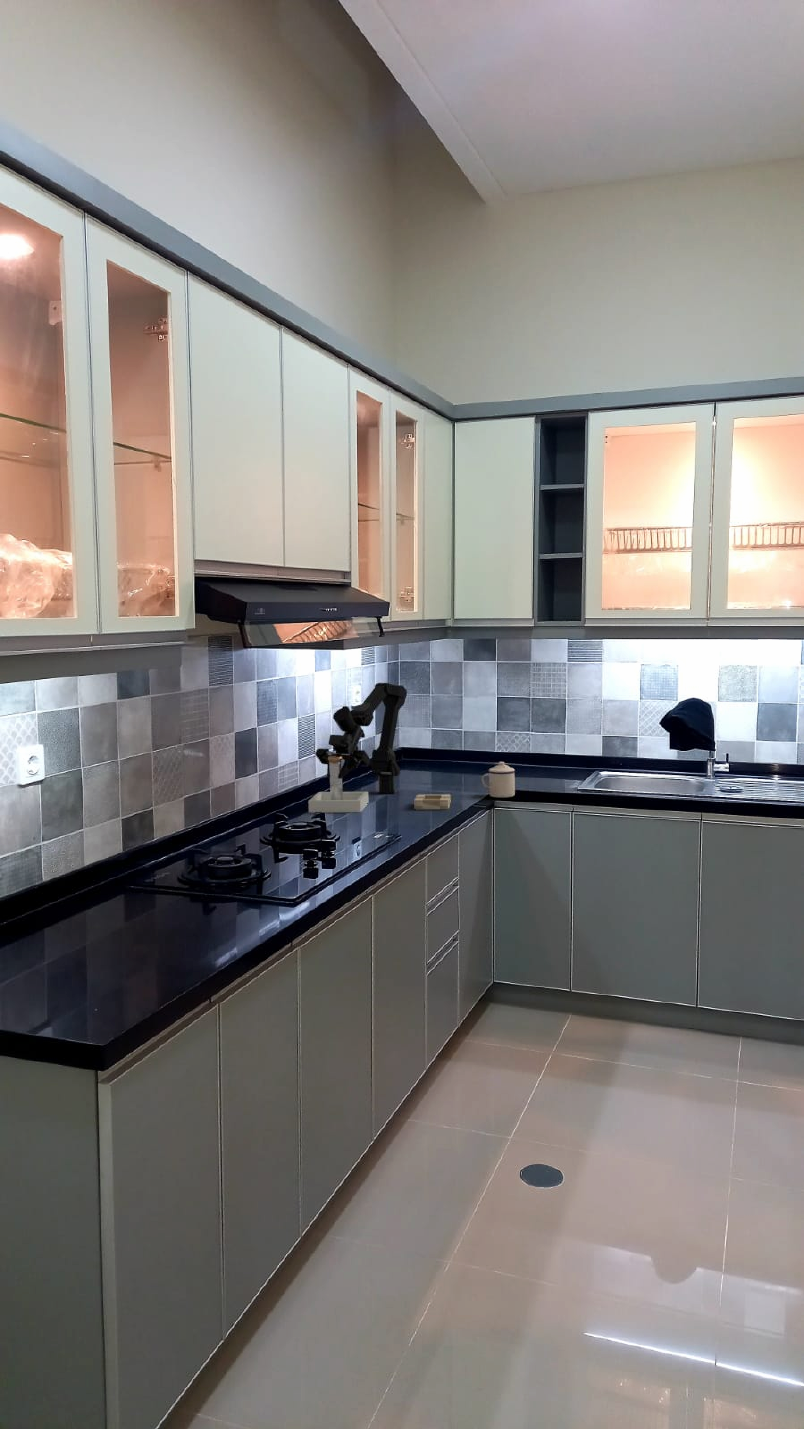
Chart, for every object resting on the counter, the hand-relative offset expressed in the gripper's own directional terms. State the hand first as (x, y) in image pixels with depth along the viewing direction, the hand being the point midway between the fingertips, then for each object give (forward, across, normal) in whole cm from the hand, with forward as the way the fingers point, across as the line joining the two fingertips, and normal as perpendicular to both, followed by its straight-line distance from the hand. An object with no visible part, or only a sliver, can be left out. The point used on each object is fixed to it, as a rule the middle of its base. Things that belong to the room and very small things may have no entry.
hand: (333, 777), depth 333 cm
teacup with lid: (-22, +40, +37) cm, 59 cm away
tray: (+5, 0, +9) cm, 11 cm away
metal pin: (+5, 0, +7) cm, 8 cm away
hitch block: (-3, +28, +18) cm, 34 cm away
